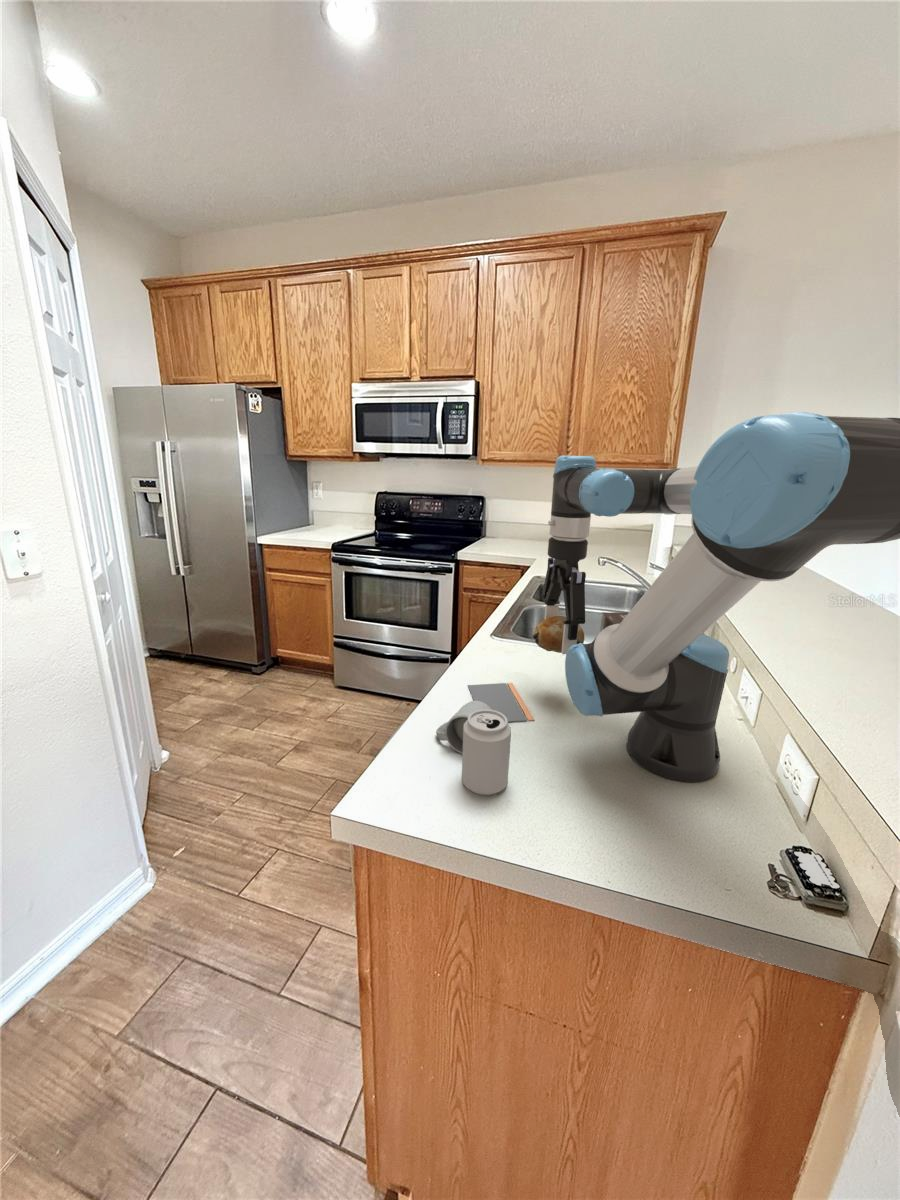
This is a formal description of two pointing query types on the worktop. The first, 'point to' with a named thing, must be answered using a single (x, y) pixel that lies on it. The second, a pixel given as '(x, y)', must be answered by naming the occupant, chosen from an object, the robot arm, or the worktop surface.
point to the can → (486, 752)
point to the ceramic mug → (459, 725)
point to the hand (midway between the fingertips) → (558, 643)
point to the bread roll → (553, 634)
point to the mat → (502, 700)
